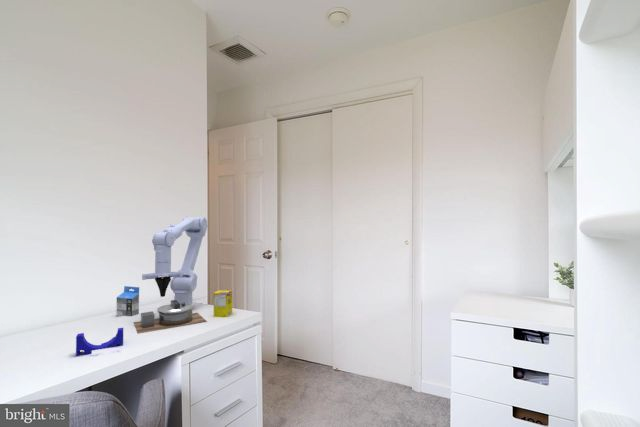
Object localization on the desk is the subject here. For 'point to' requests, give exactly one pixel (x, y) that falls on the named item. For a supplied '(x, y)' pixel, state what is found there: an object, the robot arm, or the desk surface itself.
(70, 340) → the desk surface
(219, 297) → the supplement box
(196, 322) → the walnut board
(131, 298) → the grey blue carton
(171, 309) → the lid
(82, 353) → the cable clip
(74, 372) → the desk surface
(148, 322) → the grey dish and cube
